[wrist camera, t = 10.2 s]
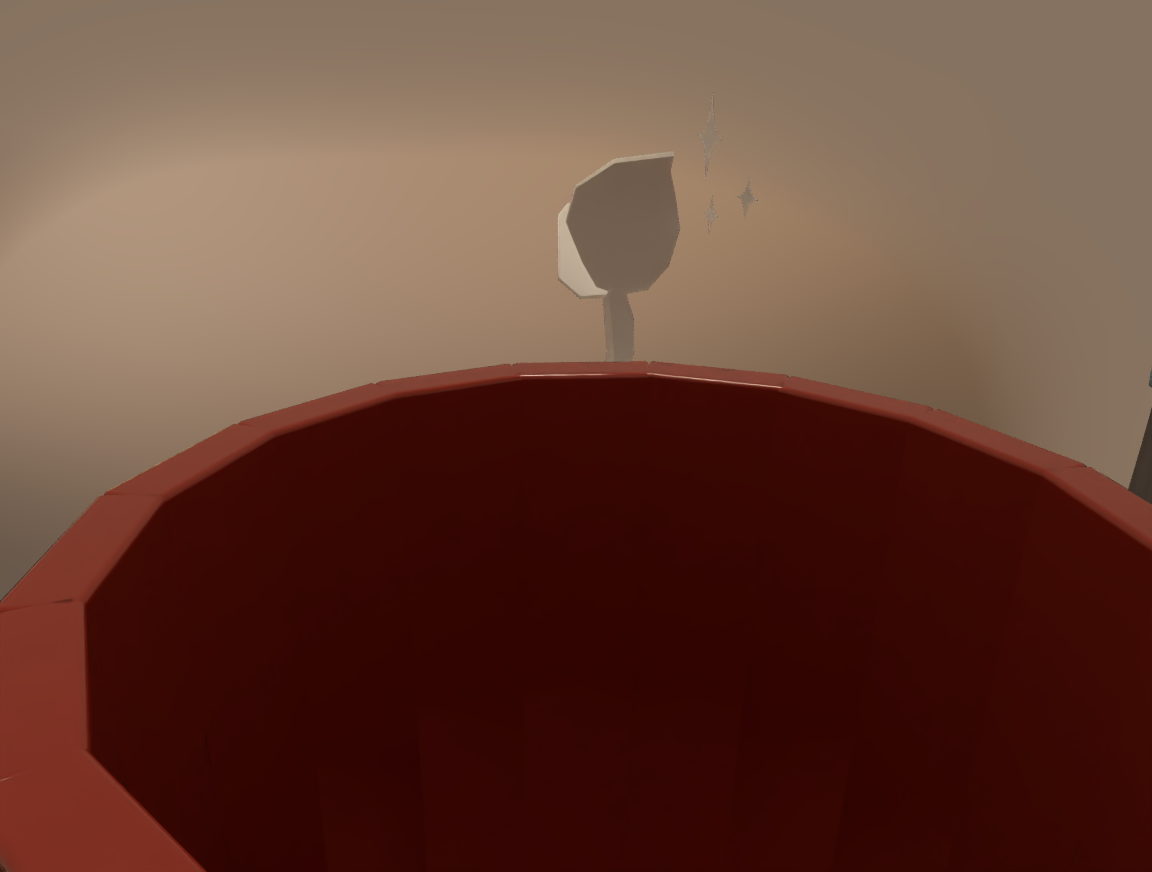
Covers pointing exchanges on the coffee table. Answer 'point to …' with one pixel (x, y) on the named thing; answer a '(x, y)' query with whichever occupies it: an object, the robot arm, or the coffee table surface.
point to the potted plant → (624, 235)
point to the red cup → (588, 640)
